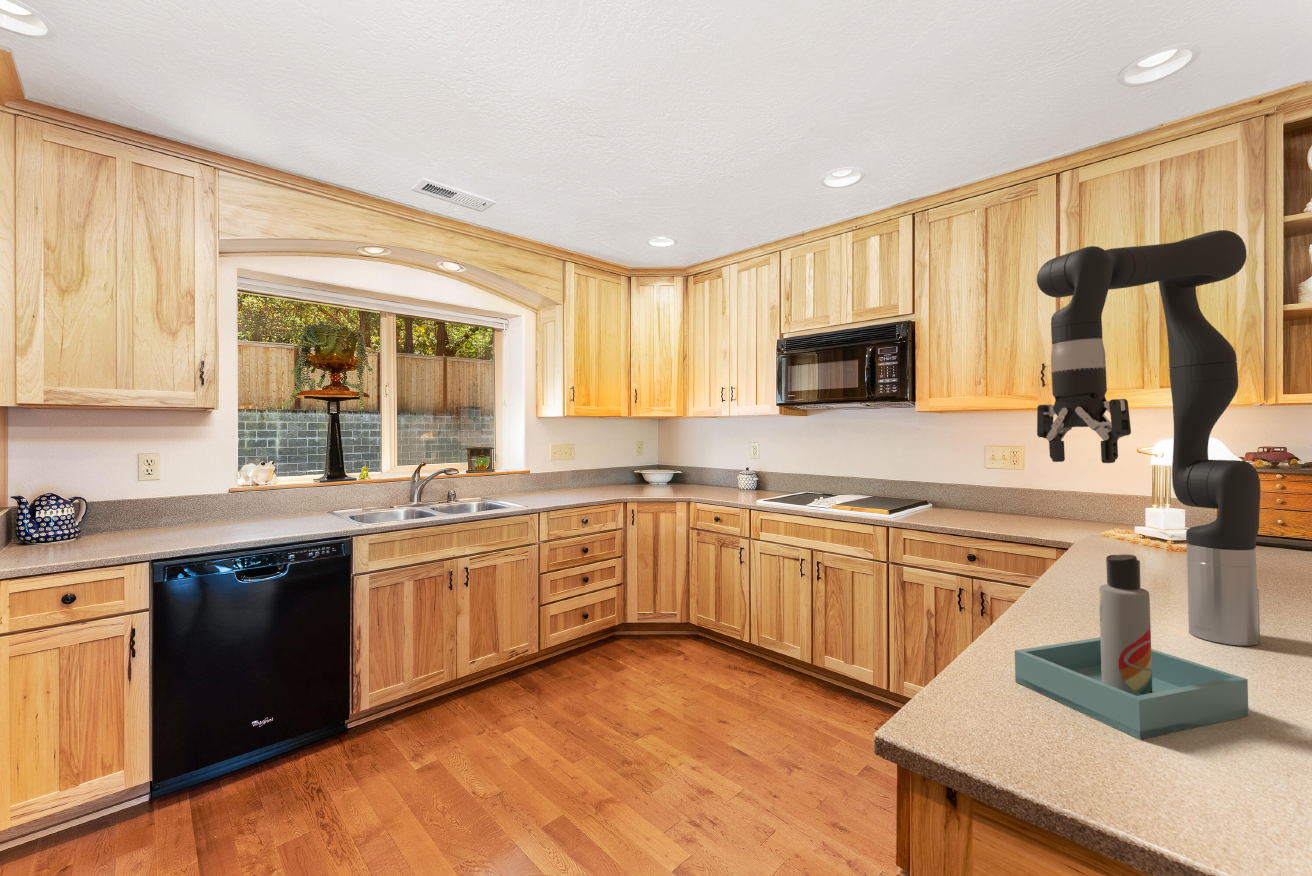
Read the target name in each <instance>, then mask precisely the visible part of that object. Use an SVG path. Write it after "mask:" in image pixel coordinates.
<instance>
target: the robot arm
mask: <svg viewBox="0 0 1312 876" xmlns="http://www.w3.org/2000/svg"><path fill="white" fill-rule="evenodd" d="M1243 240H1244V239H1243V238H1242V237H1241V235H1239V234H1237V233H1236V232H1234V231H1230V230H1227V229H1226V230H1225V229H1220V230H1214V231H1213V230H1212V231H1210V232H1204V233H1201V234H1198V235H1195V236H1191V237H1189V238H1186V239H1184V238H1183V239H1181V240H1179V241H1175V242H1169V243H1167V242H1166V243H1160V244H1158V243H1157V244H1150V245H1147V244H1146V245H1136V246H1127V247H1125V246H1124V247H1114V248H1108V249H1104V248H1102V247H1099V246H1095V245H1094V246H1093V245H1092V246H1086V247H1083V248H1080V249H1077V250H1074V251H1071V252H1068V253H1065V254H1063V255H1060V256H1056V257H1053V258H1051V259H1049V260H1047V261H1046V262H1045V263H1044V264H1043V265H1042V266H1041V267H1039V271H1038V272H1037V275H1036V284H1037V287H1038V288H1039V290H1040V291H1041V292H1042V293H1043V294H1045V295H1046V296H1049V297H1051V298H1057V299H1058V298H1067V297H1070V296H1072V297H1071V299H1070V301H1069V303H1068V304H1067V305H1066V306H1064V307H1062V308H1061V309H1059V310H1057V311H1055V312H1054V313H1053V314H1052V315H1051V319H1050V321H1051V322H1050V333H1051V334H1050V335H1051V354H1050V367H1051V368H1050V369H1051V372H1050V373H1051V388H1052V389H1051V391H1052V396H1053V397H1054V399H1055V401H1054V404H1038V405H1037V408H1036V409H1037V411H1036V412H1037V413H1036V415H1037V416H1036V417H1037V418H1036V435H1037V437H1038V438H1043V439H1045V440H1047V441H1048V445H1049V446H1048V447H1049V448H1048V449H1049V457H1050V459H1051V460H1052V462H1053V463H1060V462H1061V463H1062V462H1063V463H1064V461H1065V459H1066V454H1065V453H1066V452H1065V441H1064V440H1063V438H1065V436H1066V434H1067V433H1068V432H1069V431H1071V430H1072V428H1087V427H1089V429H1091V430H1092V431H1094V432H1095V433H1096V434H1097V435H1098V436H1099V438H1101V439H1102V440H1100V455H1101V456H1100V458H1101V459H1100V460H1101V463H1102V464H1113V463H1115V462H1116V460H1117V459H1118V458H1119V447H1118V444H1119V443H1118V441H1119V439H1121V438H1123V437H1125V436H1130V435H1131V433H1132V429H1131V419H1130V418H1131V417H1130V410H1129V401H1128V400H1127V399H1126V398H1117V399H1116V398H1115V399H1114V398H1113V399H1111V400H1107V398H1106V393H1107V391H1108V387H1107V385H1108V384H1107V383H1108V382H1107V381H1108V380H1107V366H1106V362H1107V361H1106V351H1105V346H1104V341H1103V337H1104V336H1103V321H1102V314H1103V312H1104V307H1105V304H1106V300H1107V297H1108V296H1107V295H1108V293H1109V291H1110V290H1117V289H1118V290H1120V289H1125V288H1127V289H1128V288H1132V287H1138V286H1143V285H1148V284H1153V283H1157V282H1158V287H1159V292H1160V297H1161V301H1162V307H1163V313H1164V319H1165V325H1166V335H1167V345H1168V346H1167V348H1168V368H1169V369H1168V371H1169V385H1170V392H1171V401H1172V403H1171V404H1172V416H1173V418H1172V419H1173V445H1172V446H1173V448H1172V449H1173V450H1172V462H1171V463H1172V465H1171V466H1172V468H1171V480H1172V488H1173V489H1172V490H1173V492H1174V495H1175V498H1176V499H1177V500H1178V501H1179V502H1180V503H1181V504H1182V505H1184V506H1186V507H1187V506H1188V507H1192V508H1201V509H1203V508H1205V509H1213V510H1217V515H1216V519H1215V520H1213V521H1212V522H1209V523H1206V524H1201V525H1196V526H1191V527H1189V528H1187V530H1186V532H1185V540H1186V542H1185V543H1186V569H1187V571H1186V574H1187V575H1186V577H1187V606H1188V612H1187V614H1188V615H1187V616H1188V633H1189V634H1191V635H1192V636H1194V637H1196V638H1199V639H1201V640H1206V641H1210V642H1215V643H1220V644H1225V645H1231V646H1243V647H1244V646H1255V645H1258V644H1259V640H1261V629H1260V628H1261V627H1260V626H1261V624H1260V622H1261V621H1260V619H1261V618H1260V593H1259V592H1260V590H1259V588H1258V577H1257V576H1258V573H1257V548H1256V547H1257V546H1256V545H1257V537H1258V533H1259V530H1260V513H1261V512H1260V509H1261V508H1260V507H1261V506H1260V505H1261V492H1262V491H1261V480H1260V479H1261V478H1260V475H1259V473H1258V470H1257V469H1256V467H1254V465H1252V464H1251V463H1250V462H1247V461H1244V460H1235V459H1209V441H1210V435H1211V433H1212V431H1213V428H1214V427H1215V425H1216V424H1217V422H1218V420H1219V419H1220V418H1221V417H1222V415H1223V414H1224V412H1225V411H1226V410H1227V409H1228V407H1229V405H1230V404H1231V403H1232V401H1233V399H1234V398H1235V396H1236V394H1237V391H1238V388H1239V371H1238V362H1237V361H1238V360H1237V354H1236V351H1235V349H1234V347H1233V345H1232V344H1231V343H1230V342H1229V341H1228V340H1227V339H1226V337H1225V336H1224V335H1223V334H1222V333H1221V332H1220V331H1219V330H1217V329H1216V328H1215V327H1214V325H1212V324H1211V323H1210V322H1209V321H1208V320H1207V318H1206V317H1205V316H1204V314H1203V313H1202V311H1201V308H1200V305H1199V301H1198V297H1197V289H1196V288H1197V287H1199V286H1200V287H1201V286H1205V285H1208V284H1213V283H1217V282H1221V281H1224V280H1227V279H1230V278H1231V277H1234V276H1235V275H1237V274H1238V273H1239V272H1240V271H1241V270H1242V269H1243V267H1244V265H1245V264H1246V260H1247V247H1246V243H1245V242H1244V241H1243ZM1106 411H1107V412H1108V413H1109V415H1110V420H1109V419H1108V417H1107V416H1106V415H1105V413H1106ZM1055 415H1056V418H1055V420H1054V416H1055Z"/></svg>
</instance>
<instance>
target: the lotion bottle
mask: <svg viewBox="0 0 1312 876" xmlns="http://www.w3.org/2000/svg"><path fill="white" fill-rule="evenodd" d="M1105 559H1106V561H1105V562H1106V583H1105V584H1101V585H1100V586H1098V588H1099V589H1098V595H1099V596H1098V600H1099V604H1098V605H1099V628H1100V629H1099V633H1100V639H1101V672H1102V682H1103V683H1105V684H1108V685H1110V686H1113V687H1115V688H1118V689H1120V690H1123V691H1125V692H1128V693H1130V694H1133V695H1135V696H1138V695H1144V694H1149V693H1152V659H1151V649H1152V637H1151V636H1152V635H1151V634H1152V633H1151V626H1152V625H1151V601H1150V600H1151V599H1150V597H1151V596H1150V592H1149V591H1148V590H1147V589H1146V588H1142V586H1141V561H1140V560H1139V559H1138V558H1137V556H1136V555H1134V554H1111V555H1107V556H1106V558H1105Z"/></svg>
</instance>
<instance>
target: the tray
mask: <svg viewBox="0 0 1312 876" xmlns="http://www.w3.org/2000/svg"><path fill="white" fill-rule="evenodd" d="M1151 659H1152V693H1149V694H1144V695H1138V696H1135V695H1133V694H1130V693H1128V692H1125V691H1123V690H1120V689H1118V688H1115V687H1113V686H1110V685H1108V684H1105V683H1103V682H1102V672H1101V639H1100V637H1094V638H1087V639H1081V640H1076V641H1075V640H1074V641H1066V642H1062V643H1054V644H1049V645H1042V646H1036V647H1035V646H1034V647H1029V648H1028V647H1027V648H1020V649H1016V650H1014V672H1015V673H1014V675H1015V676H1014V677H1015V678H1014V679H1015V681H1014V682H1015V683H1017V684H1019V685H1021V686H1023V687H1025V688H1028V689H1029V690H1031V691H1034V692H1036V693H1038V694H1040V695H1043V696H1045V697H1047V698H1049V699H1051V700H1054V701H1055V702H1056V703H1060V704H1062V705H1064V706H1066V707H1068V708H1070V709H1073V710H1074V711H1076V712H1079V713H1080V714H1081V713H1082V714H1084V716H1085V715H1086V716H1087V717H1089V718H1092V719H1094V720H1096V721H1098V722H1100V723H1103V724H1105V725H1106V726H1110V727H1112V728H1114V729H1116V730H1118V731H1120V732H1122V733H1124V734H1127V735H1128V736H1131V737H1133V738H1135V739H1138V740H1139V741H1141V740H1146V739H1149V738H1150V739H1151V738H1156V737H1160V736H1164V735H1169V734H1173V733H1178V732H1182V731H1183V732H1184V731H1187V730H1191V729H1195V728H1200V727H1205V726H1209V725H1213V724H1218V723H1219V724H1220V723H1222V722H1227V721H1232V720H1237V719H1241V718H1246V717H1249V688H1248V686H1249V684H1248V683H1249V681H1248V679H1247V678H1245V677H1243V676H1238V675H1235V674H1233V673H1230V672H1226V671H1223V670H1220V669H1217V668H1213V667H1210V666H1206V665H1204V664H1200V663H1197V662H1194V661H1190V660H1188V659H1184V658H1181V657H1179V656H1175V655H1172V654H1169V653H1165V652H1163V651H1161V650H1160V651H1159V650H1158V649H1153V648H1151Z"/></svg>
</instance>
